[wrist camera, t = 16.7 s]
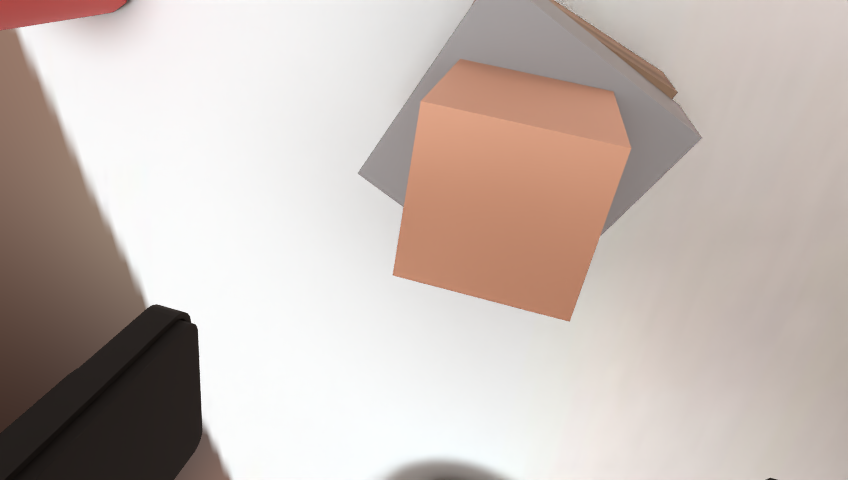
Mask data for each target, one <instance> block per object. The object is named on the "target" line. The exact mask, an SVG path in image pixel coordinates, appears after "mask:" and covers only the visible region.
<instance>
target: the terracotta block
mask: <svg viewBox="0 0 848 480" xmlns="http://www.w3.org/2000/svg"><path fill="white" fill-rule="evenodd" d="M630 151H631V145H630V142H629V139H628V136H627V133H626V130H625V126H624V123H623V120H622V117H621V114H620V111H619V107H618V104H617V101H616V98H615V95H614V91H609V90H605V89H600V88H595V87H591V86H586V85H581V84H576V83H572V82H567V81H562V80H558V79H553V78H548V77H544V76H539V75H534V74H530V73H525V72H520V71H516V70H511V69H506V68H502V67H497V66H492V65H487V64H483V63H478V62H473V61H469V60H464V59H459V61H458V62H457V63H456V64H455V65H454V66H453V67H452V68H451V69H450V70H449V71H448V72H447V73H446V74H445V76H444V77H443V78H442V79H441V80H440V81H439V82H438V83H437V84H436V85H435V86H434V87H433V88H432V89H431V91H430V92H429V93H428V94H427V95H426V96H425V97H424V98H423V99H422V100H421V102H420V109H419V115H418V121H417V127H416V134H415V140H414V146H413V152H412V158H411V165H410V171H409V177H408V183H407V190H406V196H405V202H404V208H403V214H402V221H401V227H400V233H399V239H398V245H397V252H396V258H395V264H394V270H393V275H394V276H397V277H401V278H405V279H409V280H413V281H417V282H420V283H424V284H428V285H432V286H436V287H439V288H443V289H447V290H451V291H455V292H459V293H462V294H466V295H470V296H474V297H478V298H482V299H485V300H489V301H493V302H497V303H501V304H504V305H508V306H512V307H516V308H520V309H524V310H527V311H531V312H535V313H539V314H543V315H546V316H550V317H554V318H558V319H562V320H566V321H569V322H570V319H571V316H572V313H573V310H574V308H575V305H576V302H577V299H578V296H579V294H580V291H581V288H582V285H583V282H584V280H585V277H586V274H587V271H588V268H589V266H590V263H591V260H592V257H593V254H594V252H595V249H596V246H597V243H598V240H599V238H600V235H601V232H602V229H603V226H604V224H605V221H606V218H607V215H608V212H609V209H610V207H611V204H612V201H613V198H614V195H615V193H616V190H617V187H618V184H619V181H620V179H621V176H622V173H623V170H624V167H625V165H626V162H627V159H628V156H629V153H630Z"/></svg>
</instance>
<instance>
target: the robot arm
mask: <svg viewBox="0 0 848 480" xmlns="http://www.w3.org/2000/svg"><path fill="white" fill-rule="evenodd" d="M201 435H202V413H201V391H200V369H199V347H198V329H197V326H196V324H193V323H191V319H190V316H189V315H188V313H185V312H182V311H178V310H175V309H171V308H168V307H164V306H161V305H157V304H156V305H152V306H150V307H149V308H147V309H146V310H145V311H144V312H143V313H141V315H139V316H138V317H137V318H136V319H135V320H133V321H132V322H131V323H130V324H129V325H128V326H127V327H125V328H124V329H123V330H122V331H121V332H120V333H118V334H117V335H116V336H115V337H114V338H113V339H112V340H110V341H109V342H108V343H107V344H106V345H105V346H104V347H102V348H101V349H100V350H99V351H98V352H97V353H95V354H94V355H93V356H92V357H91V358H90V359H89V360H87V361H86V362H85V363H84V364H83V365H82V366H80V367H79V368H78V369H76V370H74V371H73V372H72V373H70V374H69V375H67V376H66V377H65V378H64V379H63V380H62V381H60V382H59V383H58V384H57V385H56V386H55V387H54V388H52V389H51V390H50V391H49V392H48V393H47V394H45V395H44V396H43V397H42V398H41V399H40V400H38V401H37V402H36V403H35V404H34V405H33V406H32V407H30V408H29V409H28V410H27V411H26V412H25V413H23V414H22V415H21V416H20V417H19V418H18V419H16V420H15V421H14V422H13V423H12V424H11V425H10V426H8V427H7V428H6V429H5V430H4V431H3V432H1V433H0V480H174V479H175V478H176V476H177V475H178V474H179V472H180V471H181V469H182V468H183V467H184V465H185V464H186V463H187V461H188V460H189V458H190V457H191V456H192V454H193V453H194V452H195V450H196V448H197V446H198V444H199V442H200V439H201ZM766 480H776V479H772V478H769V479H766Z"/></svg>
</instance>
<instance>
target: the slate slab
mask: <svg viewBox="0 0 848 480" xmlns="http://www.w3.org/2000/svg"><path fill="white" fill-rule="evenodd" d="M459 59H464V60H469V61H473V62H478V63H483V64H487V65H492V66H497V67H502V68H506V69H511V70H516V71H520V72H525V73H530V74H534V75H539V76H544V77H548V78H553V79H558V80H562V81H567V82H572V83H576V84H581V85H586V86H591V87H595V88H600V89H605V90H609V91H614V95H615V98H616V101H617V104H618V107H619V111H620V114H621V117H622V120H623V123H624V126H625V130H626V133H627V136H628V139H629V142H630V145H631V151H630V153H629V156H628V159H627V162H626V165H625V167H624V170H623V173H622V176H621V179H620V181H619V184H618V187H617V190H616V193H615V195H614V198H613V201H612V204H611V207H610V209H609V212H608V215H607V218H606V221H605V224H604V226H603V229H602V232H601V235H602V234H603V233H604V232H605V231H606V230H607V229H608V228H609V227H610V226H611V225H612V224H613V223H614V222H615V221H616V220H617V219H618V218H619V217H621V216H622V215H623V214H624V213H625V212H626V211H627V210H628V209H629V208H630V207H631V206H632V205H633V204H634V203H635V202H636V201H637V200H638V199H639V198H640V197H641V196H642V195H643V194H644V193H645V192H646V191H648V190H649V189H650V188H651V187H652V186H653V185H654V184H655V183H656V182H657V181H658V180H659V179H660V178H661V177H662V176H663V175H664V174H665V173H666V172H667V171H668V170H669V169H670V168H671V167H672V166H673V165H675V164H676V163H677V162H678V161H679V160H680V159H681V158H682V157H683V156H684V155H685V154H686V153H687V152H688V151H689V150H690V149H691V148H692V147H693V146H694V145H695V144H696V143H697V142H698V141H699V140H700V139H701V138H702V137H701V136H700V134H699V133H698V132H697V130H696V129H695V127H694V126H693V124H692V123H691V121H690V120H689V119H688V117H687V116H686V114H685V113H684V111H683V110H682V108H681V107H680V106H679V105H678V104H677V103H676V102H674V101H673V100H672V99H671V98H670V97H668V96H667V95H666V94H665V93H663V92H662V91H661V90H660V89H658V88H657V87H656V86H655V85H653V84H652V83H651V82H650V81H648V80H647V79H646V78H645V77H643V76H642V75H641V74H640V73H638V72H637V71H636V70H635V69H633V68H632V67H631V66H630V65H628V64H627V63H626V62H625V61H623V60H622V59H621V58H620V57H619V56H617V55H616V54H615V53H614V52H612V51H611V50H610V49H609V48H607V47H606V46H605V45H604V44H602V43H601V42H600V41H599V40H597V39H596V38H595V37H594V36H592V35H591V34H590V33H589V32H587V31H586V30H585V29H584V28H582V27H581V26H580V25H579V24H577V23H576V22H575V21H574V20H572V19H571V18H570V17H569V16H568V15H566V14H565V13H564V12H563V11H561V10H560V9H559V8H558V7H556V6H555V5H554V4H553V3H551V2H550V1H549V0H475V2H474V3H473V5H472V6H471V8H470V9H469V11H468V12H467V14H466V15H465V16H464V18H463V19H462V21H461V22H460V24H459V25H458V27H457V28H456V30H455V31H454V33H453V34H452V36H451V37H450V38H449V40H448V41H447V43H446V44H445V46H444V47H443V49H442V50H441V52H440V53H439V55H438V56H437V58H436V59H435V61H434V62H433V63H432V65H431V66H430V68H429V69H428V71H427V72H426V74H425V75H424V77H423V78H422V80H421V81H420V83H419V84H418V85H417V87H416V88H415V90H414V91H413V93H412V94H411V96H410V97H409V99H408V100H407V102H406V103H405V105H404V106H403V108H402V109H401V110H400V112H399V113H398V115H397V116H396V118H395V119H394V121H393V122H392V124H391V125H390V127H389V128H388V130H387V131H386V132H385V134H384V135H383V137H382V138H381V140H380V141H379V143H378V144H377V146H376V147H375V149H374V150H373V152H372V153H371V155H370V156H369V157H368V159H367V160H366V162H365V163H364V165H363V166H362V168H361V169H360V171H359V172H358V174H359V175H361V176H362V177H363V178H365V179H366V180H367V181H369V182H370V183H372V184H373V185H374V186H376V187H377V188H378V189H380V190H381V191H383V192H384V193H385V194H387V195H388V196H389V197H391V198H392V199H393V200H395V201H396V202H398V203H399V204H400V205H402V206H403V207H404V202H405V196H406V190H407V183H408V177H409V171H410V165H411V158H412V152H413V146H414V140H415V134H416V127H417V121H418V115H419V109H420V102H421V100H422V99H423V98H424V97H425V96H426V95H427V94H428V93H429V92H430V91H431V89H432V88H433V87H434V86H435V85H436V84H437V83H438V82H439V81H440V80H441V79H442V78H443V77H444V76H445V74H446V73H447V72H448V71H449V70H450V69H451V68H452V67H453V66H454V65H455V64H456V63H457V62H458V61H459ZM601 235H600V236H601Z"/></svg>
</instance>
